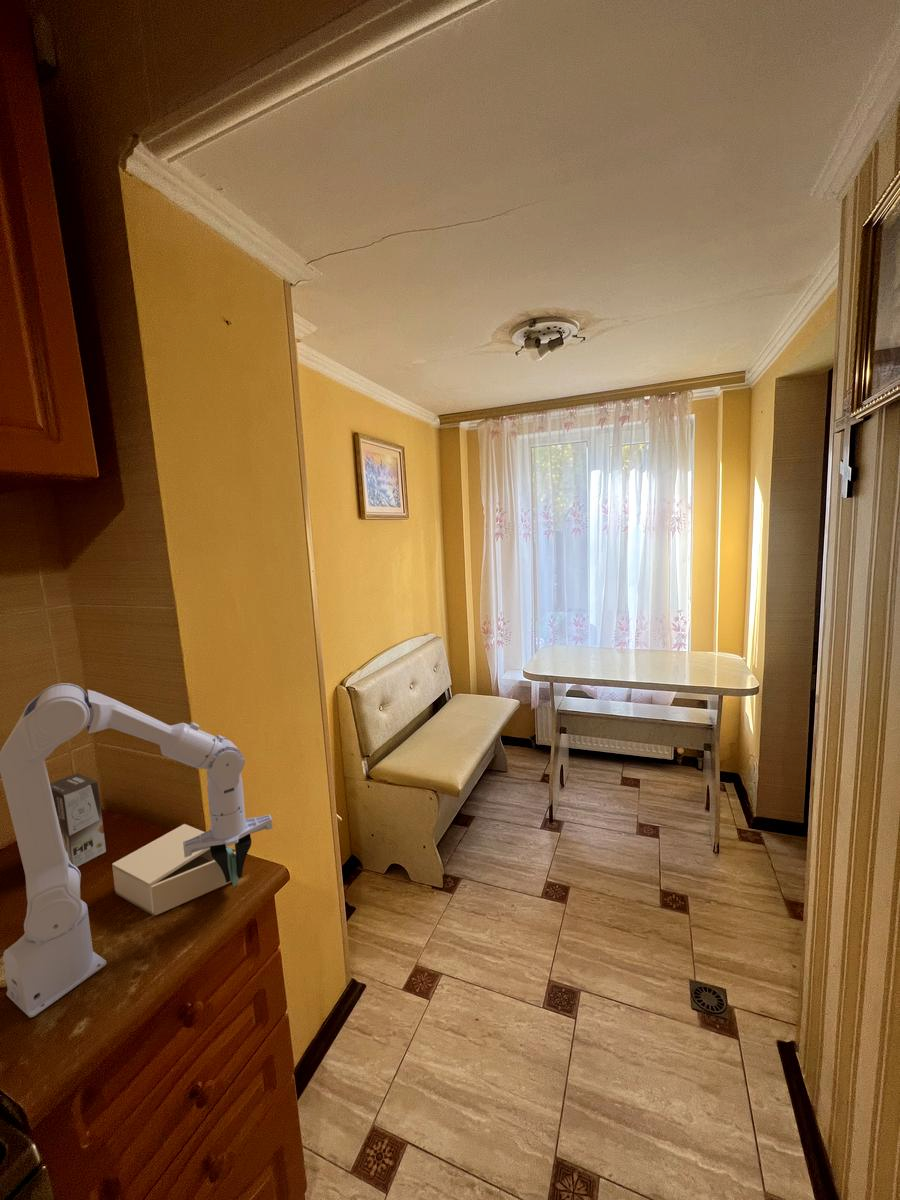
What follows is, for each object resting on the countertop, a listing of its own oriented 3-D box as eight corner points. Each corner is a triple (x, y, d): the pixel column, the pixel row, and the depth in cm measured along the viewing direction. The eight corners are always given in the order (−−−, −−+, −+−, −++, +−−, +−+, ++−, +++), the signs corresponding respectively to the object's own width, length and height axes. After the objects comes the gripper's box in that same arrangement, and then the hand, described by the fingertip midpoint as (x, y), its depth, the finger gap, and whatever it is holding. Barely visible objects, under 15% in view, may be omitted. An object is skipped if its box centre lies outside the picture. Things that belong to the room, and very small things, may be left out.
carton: (152, 915, 82) (149, 883, 81) (115, 893, 87) (111, 863, 87) (223, 866, 94) (221, 838, 93) (187, 850, 100) (184, 823, 99)
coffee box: (108, 851, 100) (99, 780, 98) (72, 870, 94) (63, 795, 93) (86, 840, 104) (77, 772, 103) (51, 857, 99) (41, 785, 97)
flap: (157, 929, 78) (153, 890, 77) (154, 913, 82) (150, 875, 81) (245, 889, 87) (242, 854, 86) (238, 876, 90) (235, 842, 90)
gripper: (181, 832, 77) (189, 907, 78) (273, 804, 84) (279, 873, 86) (180, 812, 82) (187, 883, 84) (265, 787, 90) (271, 853, 92)
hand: (233, 876), depth 85 cm, fingers closed
